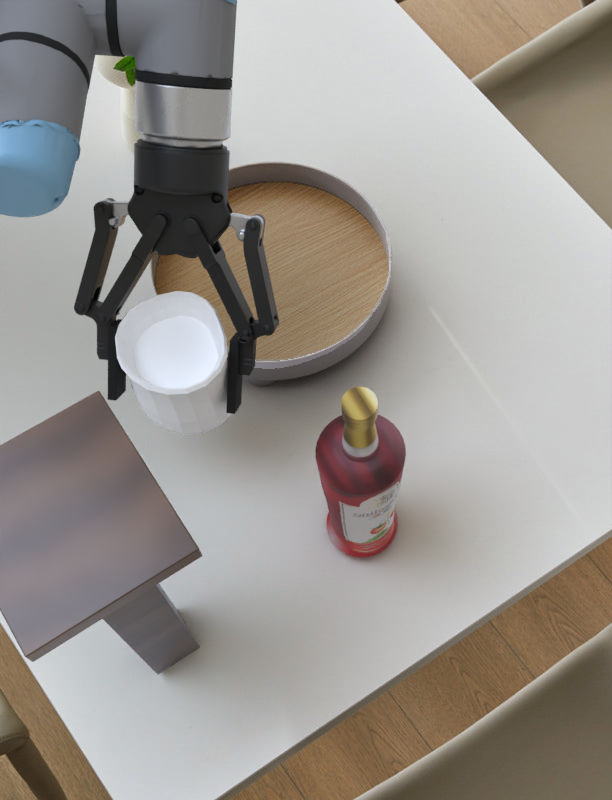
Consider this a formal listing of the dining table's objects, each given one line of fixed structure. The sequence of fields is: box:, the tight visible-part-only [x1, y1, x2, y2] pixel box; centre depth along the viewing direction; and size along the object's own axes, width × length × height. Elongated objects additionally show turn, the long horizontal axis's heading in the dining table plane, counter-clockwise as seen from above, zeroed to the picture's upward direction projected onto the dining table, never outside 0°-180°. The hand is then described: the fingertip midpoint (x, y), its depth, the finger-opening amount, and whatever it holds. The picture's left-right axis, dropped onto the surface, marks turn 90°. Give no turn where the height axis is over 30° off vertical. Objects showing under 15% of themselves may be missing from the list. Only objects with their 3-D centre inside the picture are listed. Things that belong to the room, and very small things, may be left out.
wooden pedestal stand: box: [0, 390, 203, 675], centre depth 78 cm, size 13×12×35 cm
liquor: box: [314, 386, 407, 558], centre depth 86 cm, size 7×7×28 cm
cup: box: [115, 290, 232, 436], centre depth 89 cm, size 10×10×10 cm
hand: (175, 401), depth 89 cm, fingers closed on cup, 10 cm apart
